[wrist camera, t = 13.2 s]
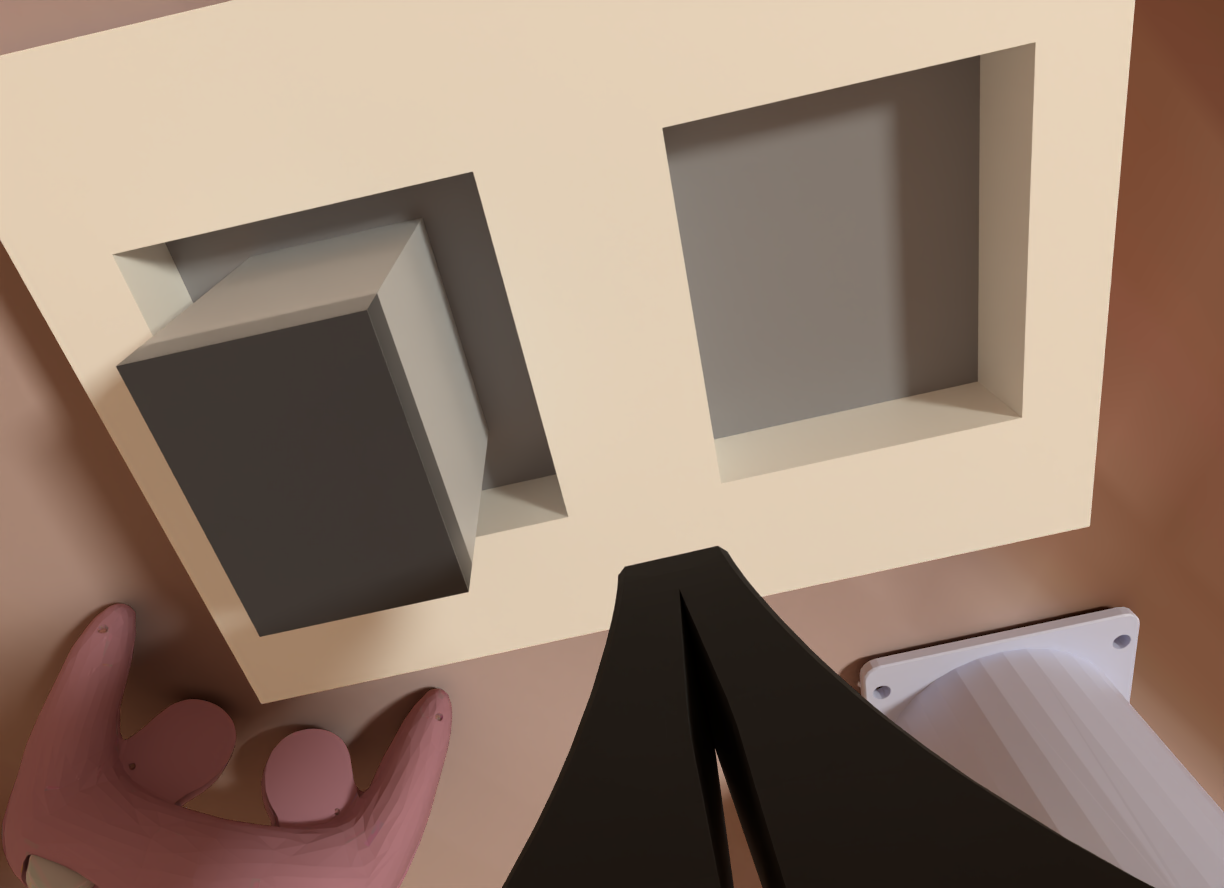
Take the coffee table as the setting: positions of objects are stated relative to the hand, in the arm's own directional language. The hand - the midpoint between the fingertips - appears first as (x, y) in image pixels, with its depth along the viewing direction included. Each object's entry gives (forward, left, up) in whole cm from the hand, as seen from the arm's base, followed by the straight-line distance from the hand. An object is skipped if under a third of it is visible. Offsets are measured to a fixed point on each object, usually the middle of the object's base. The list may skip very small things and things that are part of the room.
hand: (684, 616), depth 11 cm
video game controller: (-8, +12, -10) cm, 17 cm away
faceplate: (+1, 0, -9) cm, 9 cm away
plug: (+2, +5, -9) cm, 10 cm away
